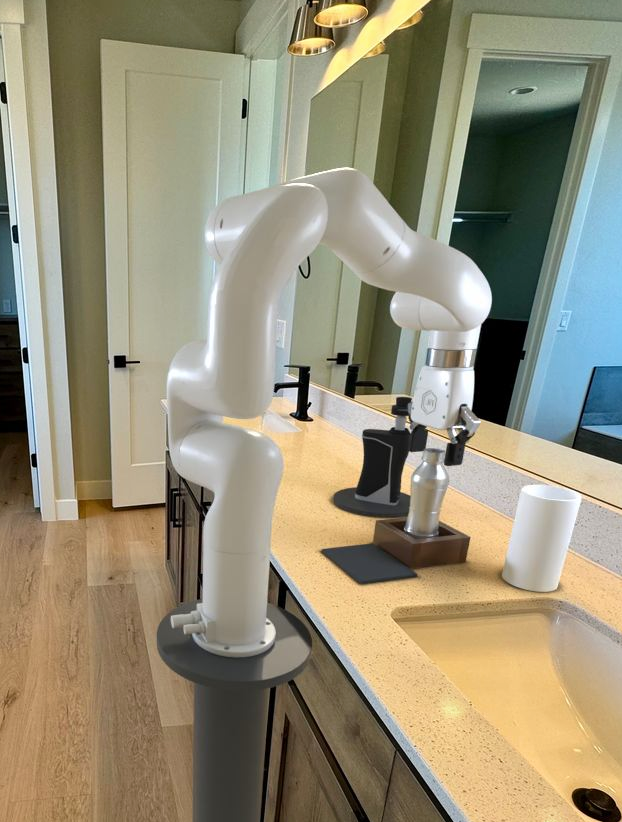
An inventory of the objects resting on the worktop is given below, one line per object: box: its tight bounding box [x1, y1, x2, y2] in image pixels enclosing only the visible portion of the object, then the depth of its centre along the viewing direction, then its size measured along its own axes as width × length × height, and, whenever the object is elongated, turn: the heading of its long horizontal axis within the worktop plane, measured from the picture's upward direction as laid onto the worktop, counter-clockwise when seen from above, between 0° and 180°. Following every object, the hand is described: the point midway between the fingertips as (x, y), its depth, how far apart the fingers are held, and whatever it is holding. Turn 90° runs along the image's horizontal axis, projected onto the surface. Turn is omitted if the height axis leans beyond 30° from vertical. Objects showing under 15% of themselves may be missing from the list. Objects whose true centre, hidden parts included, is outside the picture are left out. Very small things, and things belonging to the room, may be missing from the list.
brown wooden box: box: [372, 516, 472, 570], centre depth 109 cm, size 12×12×5 cm
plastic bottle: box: [403, 447, 450, 539], centre depth 106 cm, size 6×7×20 cm
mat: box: [321, 542, 418, 585], centre depth 105 cm, size 11×14×1 cm
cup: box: [501, 484, 583, 593], centre depth 95 cm, size 8×8×16 cm
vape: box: [332, 396, 413, 519], centre depth 131 cm, size 19×19×25 cm
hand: (433, 457), depth 103 cm, fingers open, 9 cm apart
